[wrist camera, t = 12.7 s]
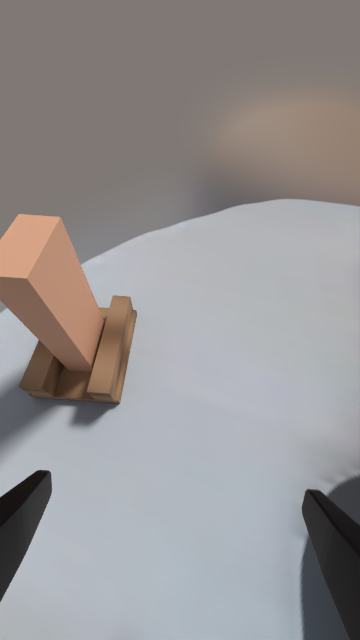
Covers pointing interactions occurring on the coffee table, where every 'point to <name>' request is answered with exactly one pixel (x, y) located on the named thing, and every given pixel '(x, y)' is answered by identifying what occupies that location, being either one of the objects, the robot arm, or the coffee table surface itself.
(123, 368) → the rack
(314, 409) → the coffee table surface
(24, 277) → the peach rectangular block
